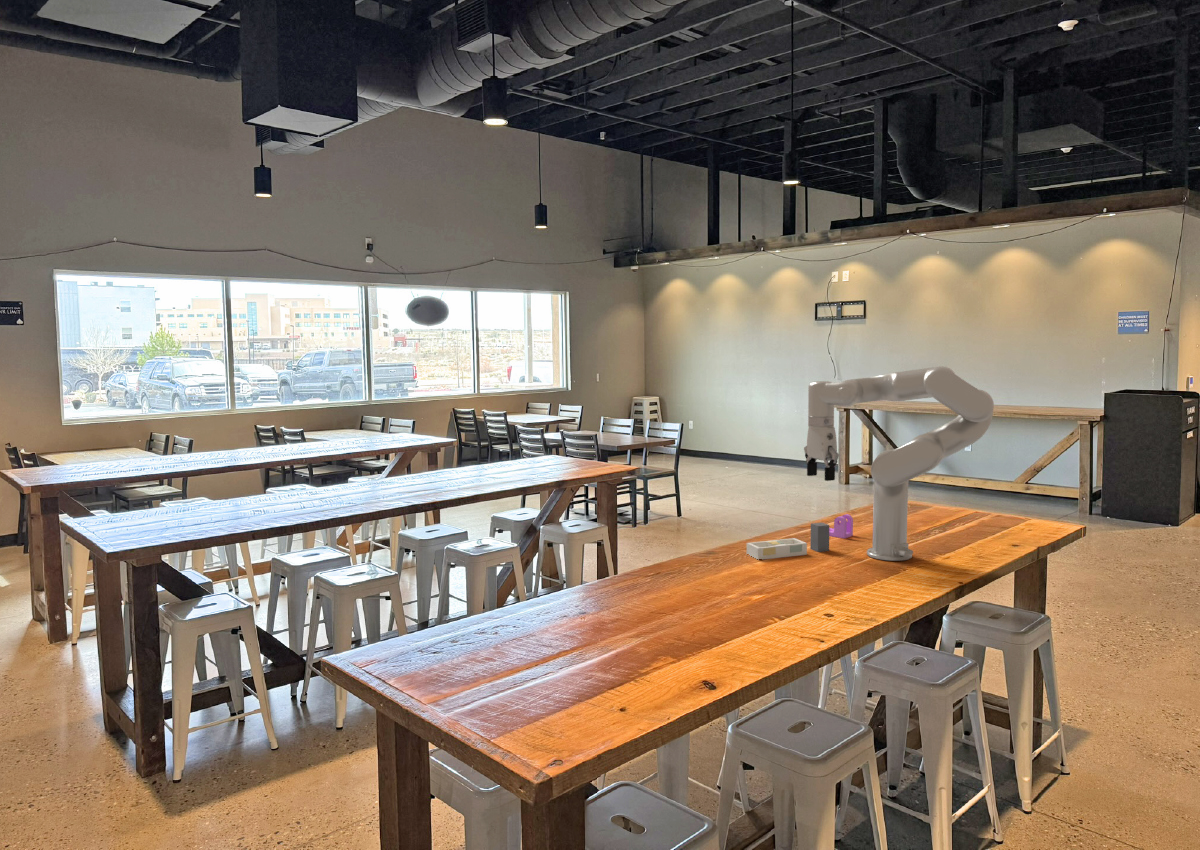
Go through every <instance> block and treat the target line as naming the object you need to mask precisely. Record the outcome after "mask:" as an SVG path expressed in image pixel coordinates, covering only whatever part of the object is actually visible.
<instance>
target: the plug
mask: <svg viewBox="0 0 1200 850" xmlns="http://www.w3.org/2000/svg"><path fill="white" fill-rule="evenodd" d="M829 528H830V524H828V523H824V522H813V523H810V542H809V543H810V545H809V546H810V550H812V551H814V552H816V553H822V552H823V553H824V552H829V551H830V536H829Z"/></svg>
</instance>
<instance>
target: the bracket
mask: <svg viewBox="0 0 1200 850" xmlns="http://www.w3.org/2000/svg"><path fill="white" fill-rule="evenodd" d="M833 521H834V522H833V528H832V527H829V537H833V538H840V539H843V540H844V539H847V538H850V537H852V536H854V535H853V531H854V529H853V528H854V518H853V516H852V515H850V514H847V513H846V514H843V515H841V516H840V515H839V516H837V517H836V518H834V520H833Z"/></svg>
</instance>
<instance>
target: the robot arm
mask: <svg viewBox="0 0 1200 850" xmlns="http://www.w3.org/2000/svg"><path fill="white" fill-rule="evenodd" d="M807 396H808V405H807V406H808V407H807V409H808V410H807V411H808V412H807V413H808V414H807V415H808V416H807V417H808V418H807V419H808V420H807V421H808V424H807V425H808V426H807V427H808V429H807V438H806V445H805V446H804V447H803V450H804V457H805V461H806V462H805V463H806V475H807V476H808V477H813V476H817V475H818V462H816V461H818V460H819V461H823V463H824V465H825V467H824V481H827V482H829V481H830V482H831V481H835V479H836V467H837V463H838V459H839V456H840V454H839V453H838V442H837V433H836V428H835V406H839V407H851V406H853V405H855V404H860V403H861V404H862V403H869V402H878V401H880V402H881V401H888V402H904V401H912V400H913V401H914V400H920V399H929V398H933V399H935V400H936V401H937V402H939V403H940V404H942V405H943V406H944V407H947V408H948V409H949V410H951V411H952V412H954V413H956V414H957V416H956V417H955V418H954V419H952V420H950V421H948V422H946V423H945V424H942V425H941V426H939V427H936V428H935V429H932V430H930V431H927V432H925V433H923V434H919V435H917V436H916V437H914V438H913V439H911V441H908V442H907V443H904V444H903V445H900V446H898V447H897V448H894V449H886V450H883V451H882V452H880V453H879V454H878V455H877V457H876V458H875V459H874V460H873V462H872V463H871V467H870V474H871V478H872V479H873V482H874V483H873V506H872V507H873V508H872V510H873V511H872V512H873V513H872V515H873V516H872V547H870V548H868V549H866V554H867V556H868V557H870V558H873V559H877V560H882V561H893V562H894V561H895V562H899V561H900V562H902V561H907V560H910V559H912V557H913V554H914V550H912V549H910V548H909V543H908V540H907V539H908V506H909V481H911V480H913V479H915V478H918V477H921V476H922V475H924V474H926V473H929V472H930V471H932V470H934V469H935V468H936V467H937V466H939V465H940V464H941V462H942V460H944V459H945V458H948V457H950V456H953V454H956V453H958V452H960V451H962V450H964V449H965V448H968V447H969V446H971V445H973V444H975V443H976V442H978V441H979V440H980V439H981V438H982V437H983V436H984V435H985V434H986V432H987V431H988V429H989V427H991V426H990V425H991V423H992V420H993V416H994V409H995V408H994V407H995V406H994V405H995V403H994V399H993V397H992V396H991V394H990V393H988V392H987V391H985V390H982V389H979V388H977V387H975V386H974V385H972V384H971V383H969V382H967V381H966V380H964V379H962V377H960V376H959V375H957V374H956V373H955V372H954V371H953V370H952V369H951V368H950V367H947V366H934V367H927V368H919V369H918V368H917V369H912V370H903V371H895V372H890V373H886V374H882V375H876V376H867V377H866V376H865V377H861V378H853V379H847V380H843V381H837V382H836V381H835V382H832V381H829V380H827V381H826V380H820V381H819V380H818V381H815V380H814V381H811V382H810V383H809V385H808V395H807Z"/></svg>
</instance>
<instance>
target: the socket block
mask: <svg viewBox="0 0 1200 850" xmlns="http://www.w3.org/2000/svg"><path fill="white" fill-rule="evenodd" d="M747 554H749V555H750V556H749V555H748V556H749V557H751V556H752V557H751V558H753V557H754V558H753V559H755V558H756V559H755V560H757V559H758V560H757V561H760V560H759V559H762V560H769V559H780V558H788V557H797V556H805V555H807V554H808V543H807V542H805V541H803V540H800V539H798V538H796V537H795V538H794V537H791V538H781V539H773V540H762V541H754V542H746V555H747Z"/></svg>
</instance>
